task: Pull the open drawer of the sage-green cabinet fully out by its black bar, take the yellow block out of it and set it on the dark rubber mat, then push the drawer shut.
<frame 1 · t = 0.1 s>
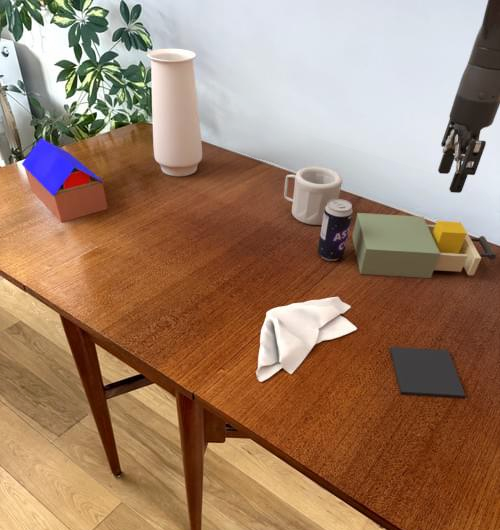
hand: (448, 181, 92), 16 cm above the table, tool pointing down, fingers open, 8 cm apart
house: (68, 199, 114), on the table
cloth: (296, 332, 82), on the table
drawer: (446, 247, 99), point 3 cm above the table, slide at 7.5 cm, touching yellow block
yellow block: (442, 251, 99), point 2 cm above the table, touching drawer
beverage can: (330, 256, 100), on the table
mat: (425, 372, 76), on the table
mug: (307, 214, 114), on the table
cabinet: (389, 256, 101), on the table
vase: (179, 169, 129), on the table
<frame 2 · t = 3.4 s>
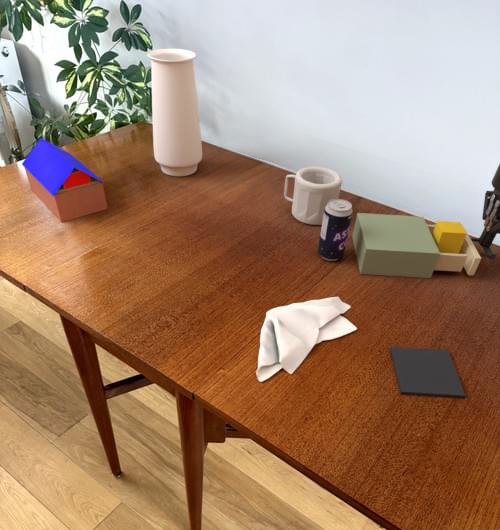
hand: (483, 244, 98), 4 cm above the table, tool pointing down, fingers closed
drawer: (446, 247, 99), point 3 cm above the table, slide at 7.5 cm, touching gripper, yellow block
everything else where it was.
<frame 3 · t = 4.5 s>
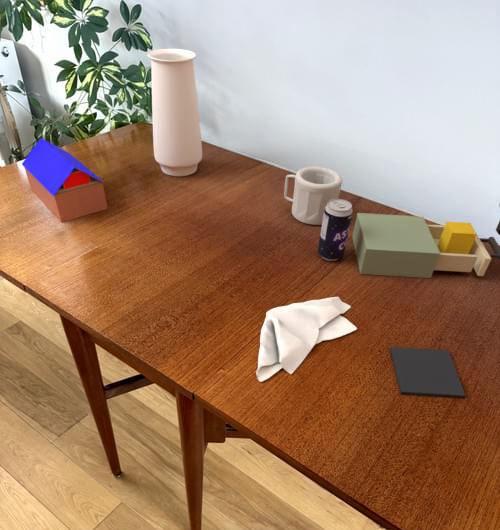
drawer: (456, 248, 99), point 3 cm above the table, slide at 9.5 cm, touching yellow block
yellow block: (451, 252, 99), point 2 cm above the table, touching drawer
everything else where it was.
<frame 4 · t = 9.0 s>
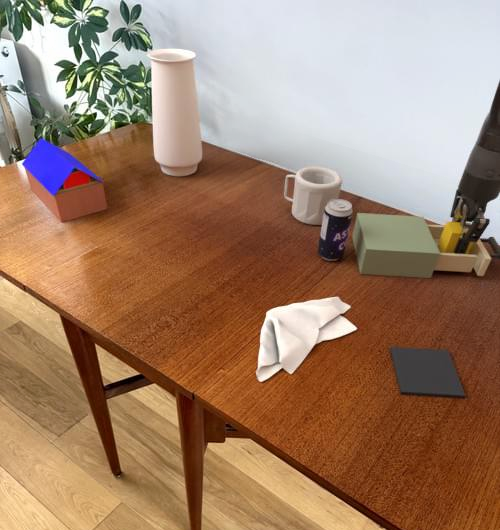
hand: (455, 247, 99), 3 cm above the table, tool pointing down, fingers closed on yellow block, 4 cm apart
yellow block: (451, 252, 99), point 2 cm above the table, touching drawer, gripper
everything else where it was.
when the fingers open (2 cm above the table, at t = 17.6 s): yellow block stays where it is, resting on mat.
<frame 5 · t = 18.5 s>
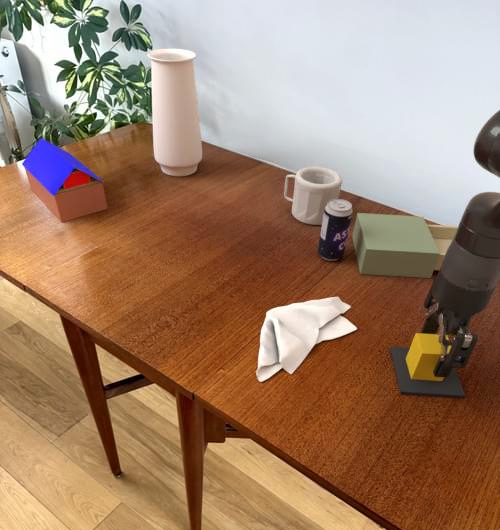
hand: (432, 355, 73), 4 cm above the table, tool pointing down, fingers open, 8 cm apart
drawer: (456, 248, 99), point 3 cm above the table, slide at 9.5 cm
yellow block: (423, 369, 76), point 1 cm above the table, touching mat
everything else where it was.
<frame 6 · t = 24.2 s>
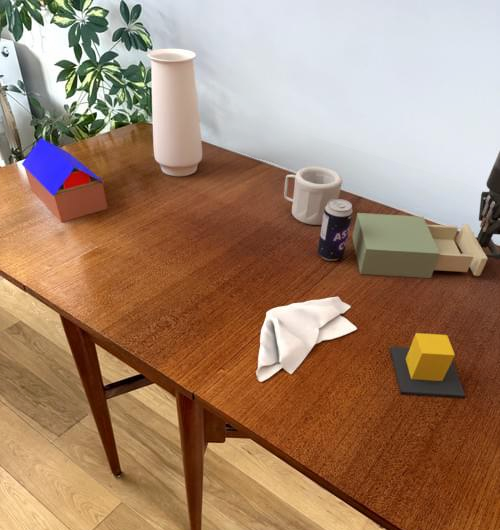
hand: (480, 245, 98), 4 cm above the table, tool pointing down, fingers closed
drawer: (452, 248, 99), point 3 cm above the table, slide at 8.8 cm
everything else where it was.
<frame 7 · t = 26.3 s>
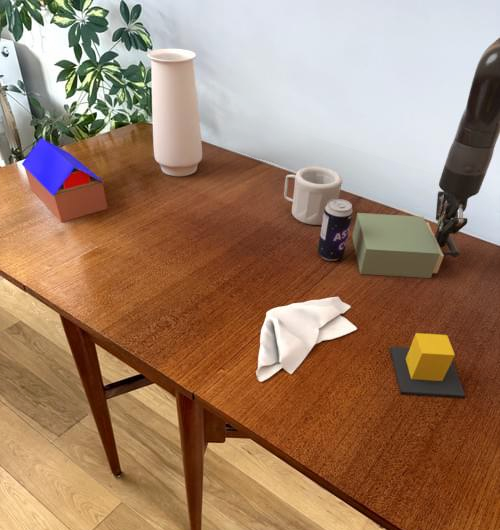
hand: (438, 244, 98), 4 cm above the table, tool pointing down, fingers closed
drawer: (411, 245, 99), point 3 cm above the table, slide at 0.0 cm, touching cabinet, gripper
everything else where it was.
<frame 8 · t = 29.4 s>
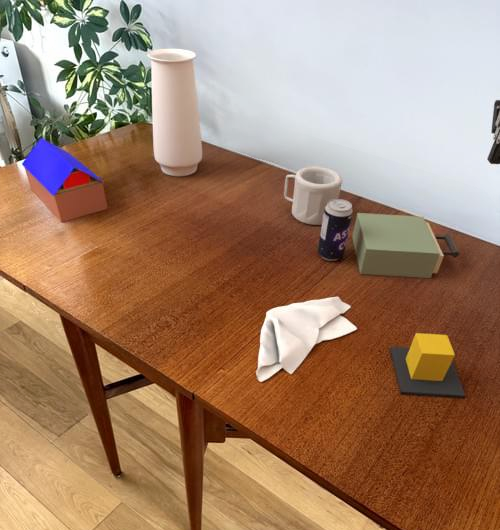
hand: (493, 162, 88), 21 cm above the table, tool pointing down, fingers closed
drawer: (411, 245, 99), point 3 cm above the table, slide at 0.0 cm
everything else where it was.
at the end: yellow block inside the target area on the mat (0.5 cm from its centre), point 0.6 cm above the mat's base; drawer slide at 0.0 cm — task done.
